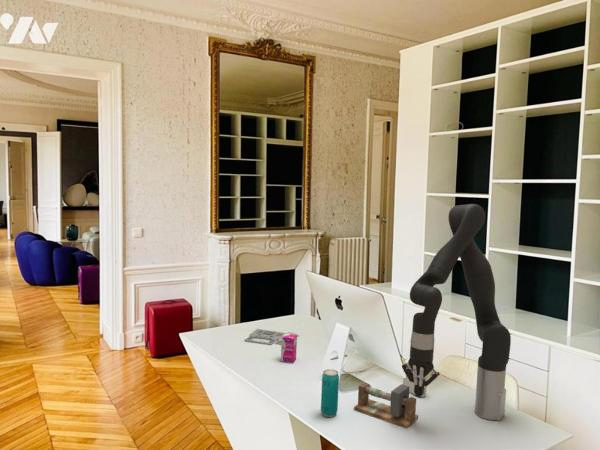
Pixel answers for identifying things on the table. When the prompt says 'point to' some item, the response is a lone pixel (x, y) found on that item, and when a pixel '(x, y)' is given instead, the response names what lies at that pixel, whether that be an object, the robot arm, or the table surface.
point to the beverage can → (329, 393)
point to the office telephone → (267, 336)
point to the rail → (385, 406)
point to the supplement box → (288, 348)
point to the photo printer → (412, 384)
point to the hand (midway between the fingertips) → (418, 395)
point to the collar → (398, 400)
